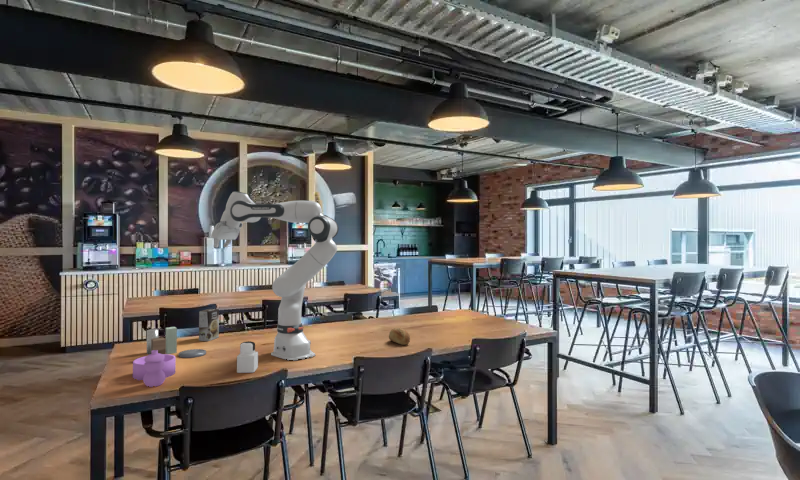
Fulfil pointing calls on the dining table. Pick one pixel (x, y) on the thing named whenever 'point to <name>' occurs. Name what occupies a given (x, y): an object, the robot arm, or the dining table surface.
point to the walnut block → (159, 345)
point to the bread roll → (399, 336)
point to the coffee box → (208, 324)
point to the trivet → (192, 353)
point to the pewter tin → (150, 335)
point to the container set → (154, 368)
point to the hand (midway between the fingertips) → (220, 247)
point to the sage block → (171, 340)
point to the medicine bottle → (247, 358)
